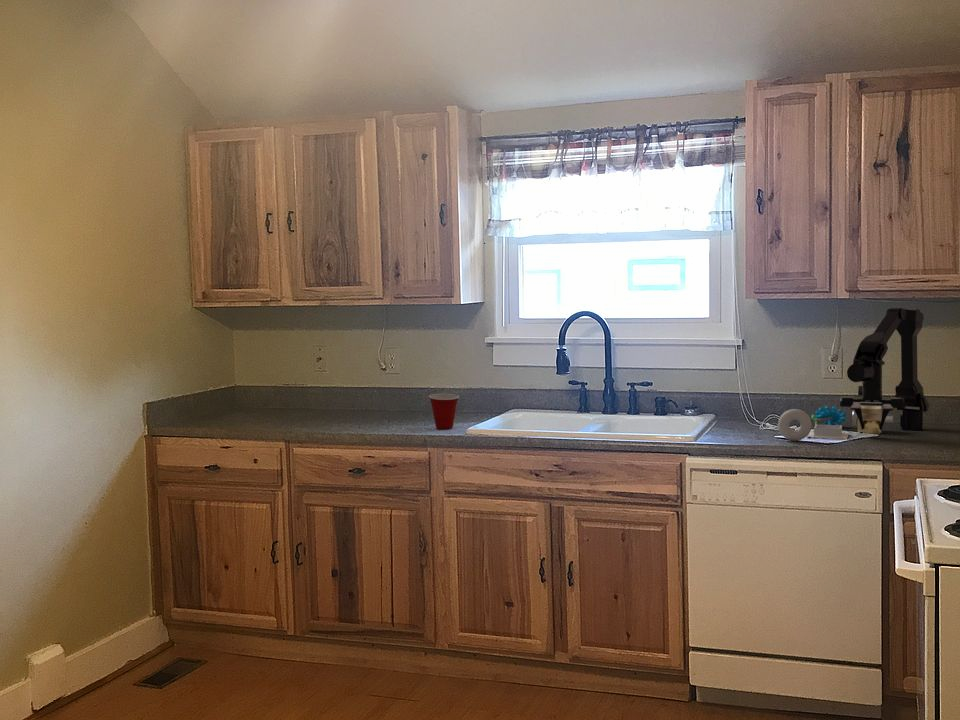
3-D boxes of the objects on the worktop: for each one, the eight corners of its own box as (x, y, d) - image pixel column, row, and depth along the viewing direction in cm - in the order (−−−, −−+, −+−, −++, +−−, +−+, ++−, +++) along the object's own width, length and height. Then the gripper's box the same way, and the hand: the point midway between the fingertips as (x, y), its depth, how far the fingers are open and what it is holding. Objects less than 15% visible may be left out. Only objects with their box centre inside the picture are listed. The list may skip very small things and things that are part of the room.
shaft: (892, 425, 326) (892, 410, 326) (892, 427, 322) (892, 411, 321) (852, 424, 331) (852, 409, 331) (852, 426, 326) (852, 410, 326)
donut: (778, 441, 309) (778, 409, 309) (777, 439, 313) (777, 408, 312) (812, 442, 307) (812, 409, 306) (811, 440, 310) (811, 408, 310)
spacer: (880, 432, 315) (880, 419, 314) (880, 434, 310) (880, 421, 310) (863, 431, 317) (863, 419, 316) (862, 433, 312) (863, 421, 312)
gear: (849, 421, 341) (842, 403, 335) (848, 435, 337) (841, 416, 331) (816, 424, 346) (808, 406, 340) (814, 437, 343) (807, 419, 337)
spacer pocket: (848, 434, 322) (848, 424, 321) (847, 439, 311) (847, 429, 310) (809, 432, 326) (809, 423, 326) (806, 438, 315) (806, 428, 315)
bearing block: (881, 430, 329) (881, 406, 328) (880, 433, 322) (881, 409, 321) (858, 429, 332) (858, 405, 331) (857, 432, 324) (857, 408, 324)
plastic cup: (436, 431, 345) (435, 397, 344) (424, 428, 355) (424, 394, 354) (464, 429, 350) (464, 395, 349) (453, 425, 360) (452, 392, 359)
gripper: (904, 378, 316) (903, 427, 317) (841, 377, 323) (841, 425, 324) (904, 381, 306) (904, 432, 307) (839, 380, 313) (839, 429, 314)
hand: (871, 429), depth 313 cm, fingers closed on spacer, 5 cm apart
